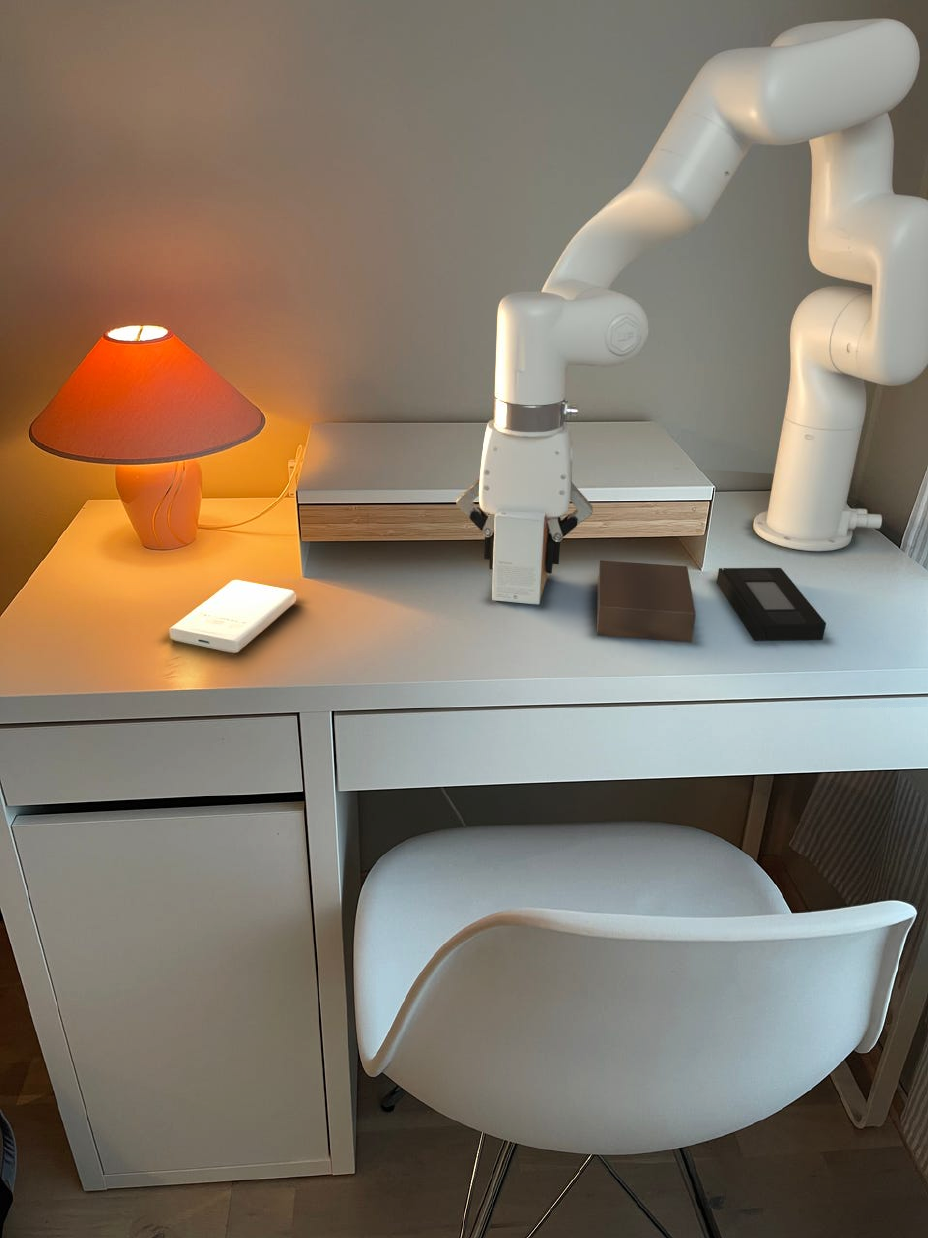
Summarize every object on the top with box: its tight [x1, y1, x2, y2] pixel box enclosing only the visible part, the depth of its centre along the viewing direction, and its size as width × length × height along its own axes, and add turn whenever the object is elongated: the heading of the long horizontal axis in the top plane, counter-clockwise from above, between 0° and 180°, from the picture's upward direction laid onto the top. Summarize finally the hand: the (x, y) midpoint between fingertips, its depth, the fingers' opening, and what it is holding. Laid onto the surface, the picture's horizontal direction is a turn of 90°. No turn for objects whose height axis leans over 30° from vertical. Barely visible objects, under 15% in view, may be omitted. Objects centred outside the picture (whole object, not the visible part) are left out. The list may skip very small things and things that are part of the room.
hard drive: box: [168, 579, 297, 654], centre depth 107 cm, size 2×8×12 cm
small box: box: [491, 511, 550, 605], centre depth 113 cm, size 8×6×10 cm
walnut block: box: [596, 559, 697, 643], centre depth 110 cm, size 10×12×4 cm
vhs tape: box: [716, 567, 827, 642], centre depth 112 cm, size 8×14×2 cm, turn 3°
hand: (521, 565), depth 114 cm, fingers closed on small box, 5 cm apart
